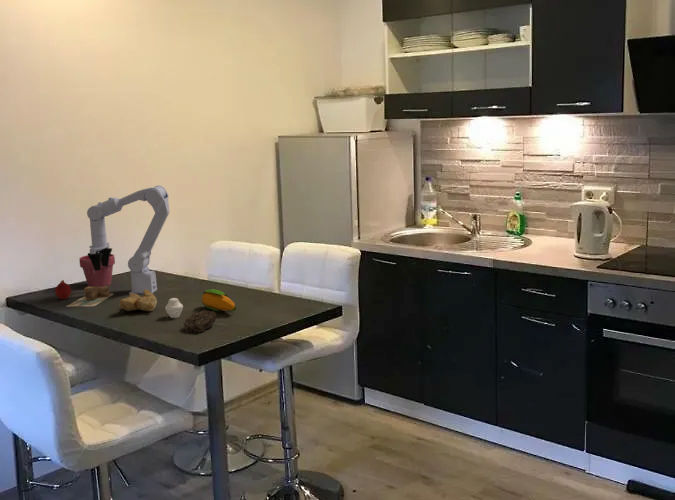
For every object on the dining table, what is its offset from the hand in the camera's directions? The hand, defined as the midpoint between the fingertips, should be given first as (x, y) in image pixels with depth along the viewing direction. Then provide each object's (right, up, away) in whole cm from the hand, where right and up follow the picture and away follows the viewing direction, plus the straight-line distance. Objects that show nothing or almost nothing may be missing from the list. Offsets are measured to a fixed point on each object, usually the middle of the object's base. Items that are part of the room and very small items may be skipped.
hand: (101, 268), depth 296 cm
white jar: (+38, -16, -37) cm, 55 cm away
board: (-1, -13, -11) cm, 16 cm away
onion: (-12, -13, -7) cm, 19 cm away
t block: (0, -11, -8) cm, 14 cm away
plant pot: (-6, -8, +16) cm, 19 cm away
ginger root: (+23, -15, -26) cm, 38 cm away
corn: (+53, -15, -30) cm, 63 cm away
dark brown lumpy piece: (+49, -19, -51) cm, 73 cm away
